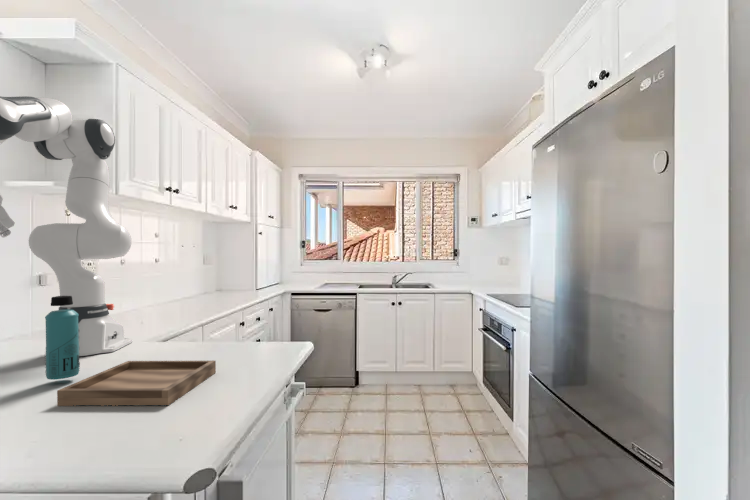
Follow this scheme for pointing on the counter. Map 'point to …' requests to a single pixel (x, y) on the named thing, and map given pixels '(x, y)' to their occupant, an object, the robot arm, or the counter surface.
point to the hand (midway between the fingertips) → (9, 231)
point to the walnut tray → (138, 383)
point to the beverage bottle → (62, 341)
